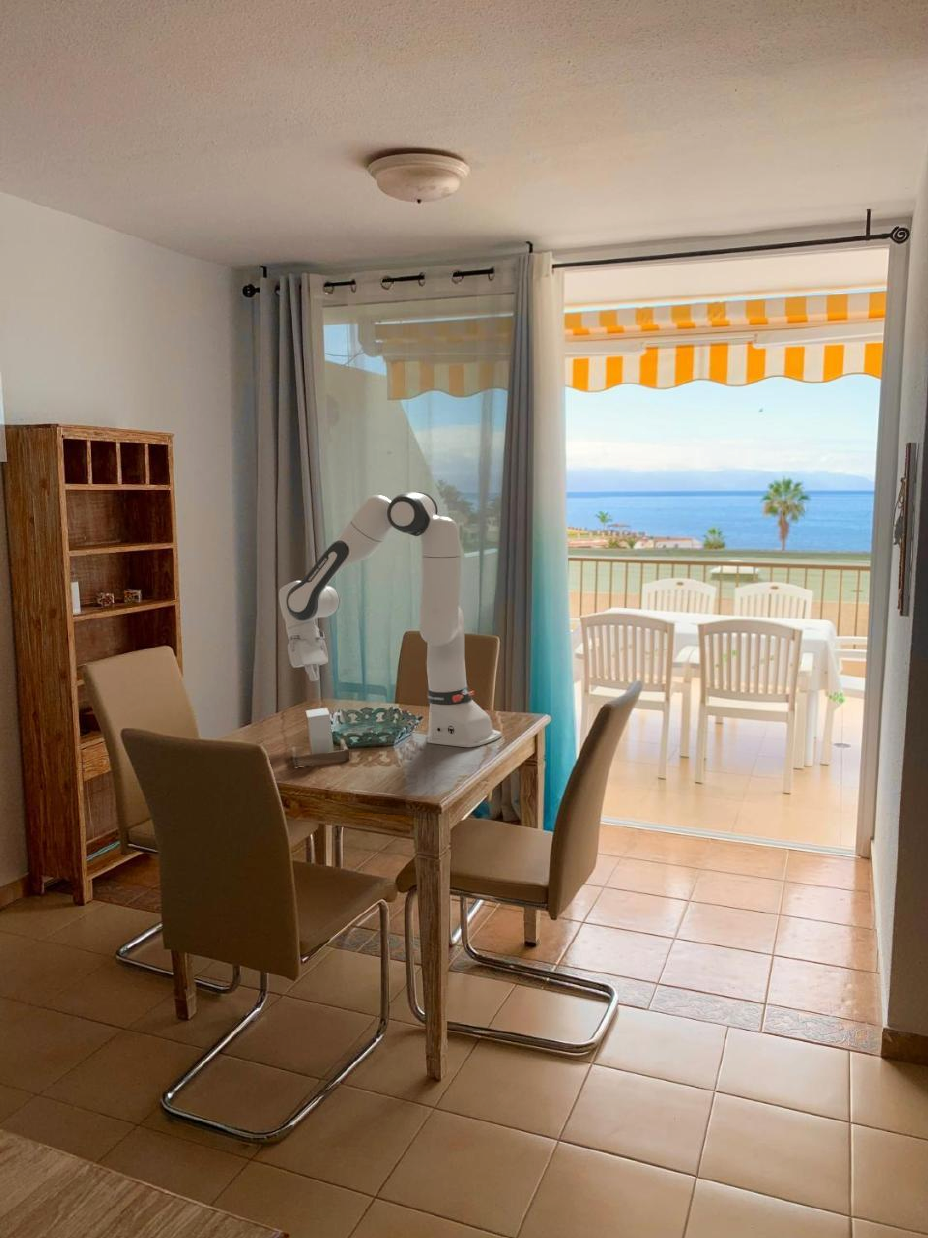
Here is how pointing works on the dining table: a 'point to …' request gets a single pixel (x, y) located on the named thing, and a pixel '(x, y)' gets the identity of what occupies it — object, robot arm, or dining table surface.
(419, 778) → the dining table surface
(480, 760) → the dining table surface
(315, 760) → the walnut bay
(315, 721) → the small box
